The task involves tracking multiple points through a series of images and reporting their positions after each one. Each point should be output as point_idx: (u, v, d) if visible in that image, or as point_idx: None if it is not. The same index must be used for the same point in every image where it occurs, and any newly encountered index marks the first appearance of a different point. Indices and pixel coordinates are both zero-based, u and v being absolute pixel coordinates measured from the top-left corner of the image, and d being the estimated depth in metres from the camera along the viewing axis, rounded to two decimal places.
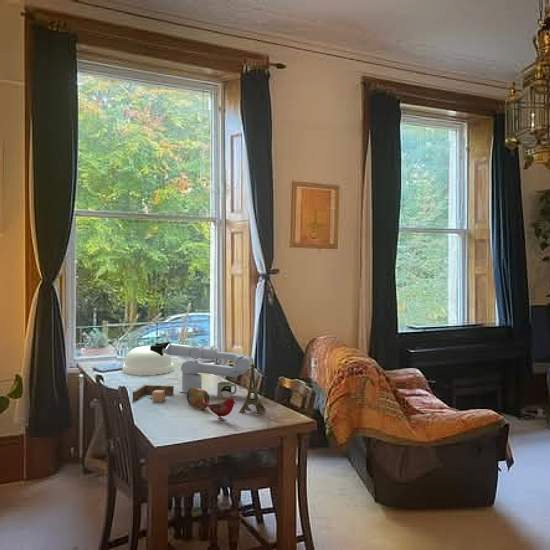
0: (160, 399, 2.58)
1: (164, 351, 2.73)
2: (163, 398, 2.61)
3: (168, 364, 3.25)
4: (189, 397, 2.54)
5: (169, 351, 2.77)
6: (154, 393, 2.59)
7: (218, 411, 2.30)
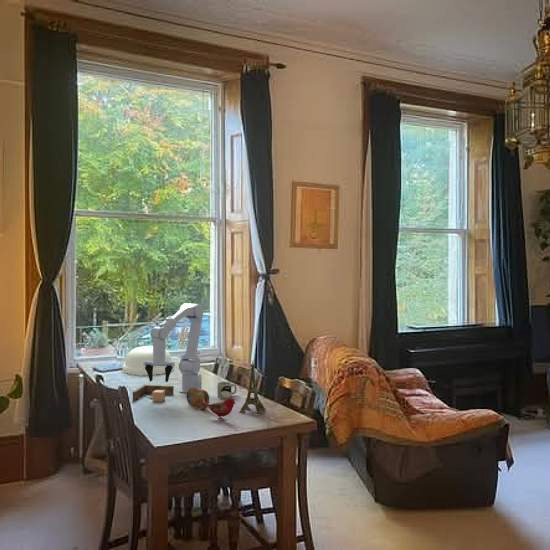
0: (160, 399, 2.58)
1: (174, 364, 2.59)
2: (163, 398, 2.61)
3: None
4: (189, 397, 2.54)
5: None
6: (154, 393, 2.59)
7: (218, 411, 2.30)
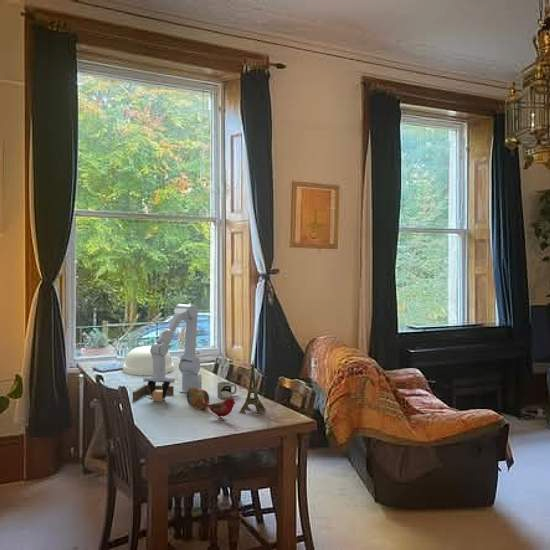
0: (160, 399, 2.58)
1: (173, 380, 2.60)
2: (163, 398, 2.61)
3: (168, 364, 3.25)
4: (189, 397, 2.54)
5: (165, 377, 2.61)
6: (154, 393, 2.59)
7: (218, 411, 2.30)
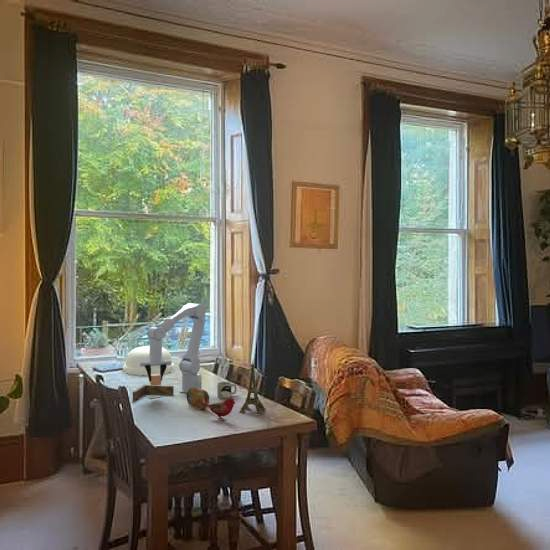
0: (159, 382, 2.63)
1: (170, 362, 2.67)
2: None
3: None
4: (189, 397, 2.54)
5: None
6: (153, 377, 2.62)
7: (218, 411, 2.30)
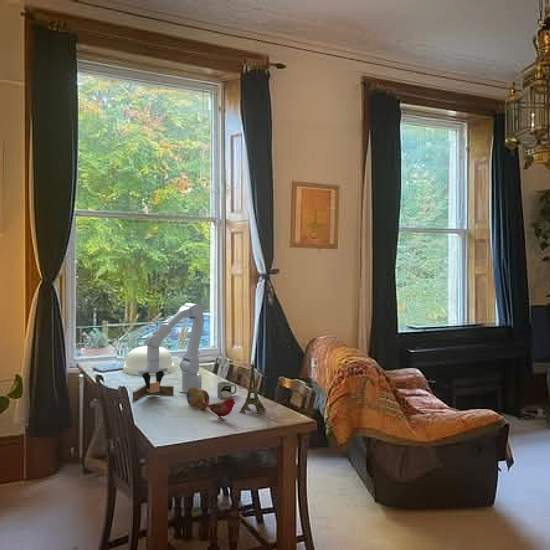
0: (158, 389, 2.66)
1: None
2: None
3: (169, 364, 3.26)
4: (189, 397, 2.54)
5: None
6: (152, 384, 2.65)
7: (218, 411, 2.30)
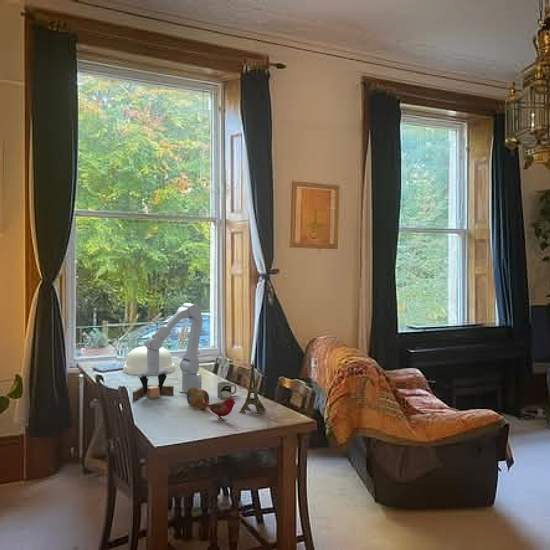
0: (158, 394, 2.66)
1: None
2: None
3: (169, 364, 3.26)
4: (189, 397, 2.54)
5: None
6: (152, 389, 2.65)
7: (218, 411, 2.30)
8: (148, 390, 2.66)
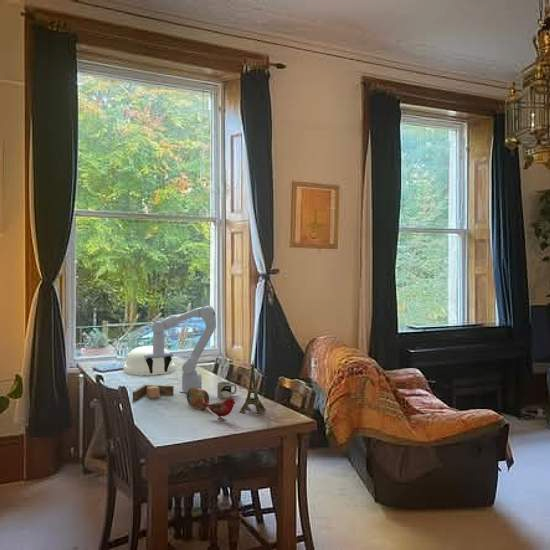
0: (158, 394, 2.66)
1: None
2: None
3: (170, 364, 3.26)
4: (189, 397, 2.54)
5: None
6: (152, 389, 2.65)
7: (218, 411, 2.30)
8: (148, 390, 2.66)
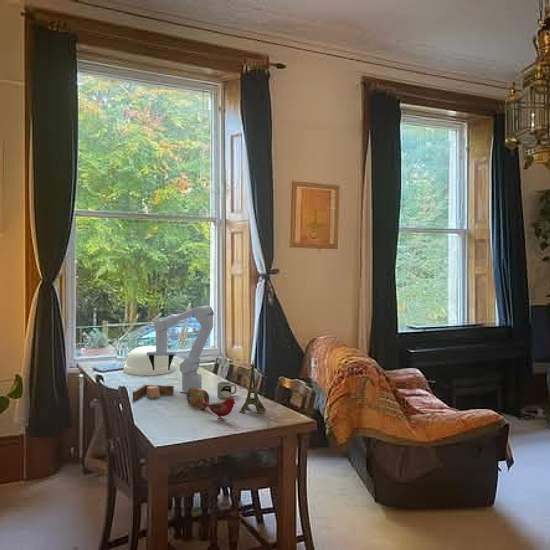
0: (158, 394, 2.66)
1: (175, 353, 2.86)
2: None
3: None
4: (189, 397, 2.54)
5: None
6: (152, 389, 2.65)
7: (218, 411, 2.30)
8: (148, 390, 2.66)
